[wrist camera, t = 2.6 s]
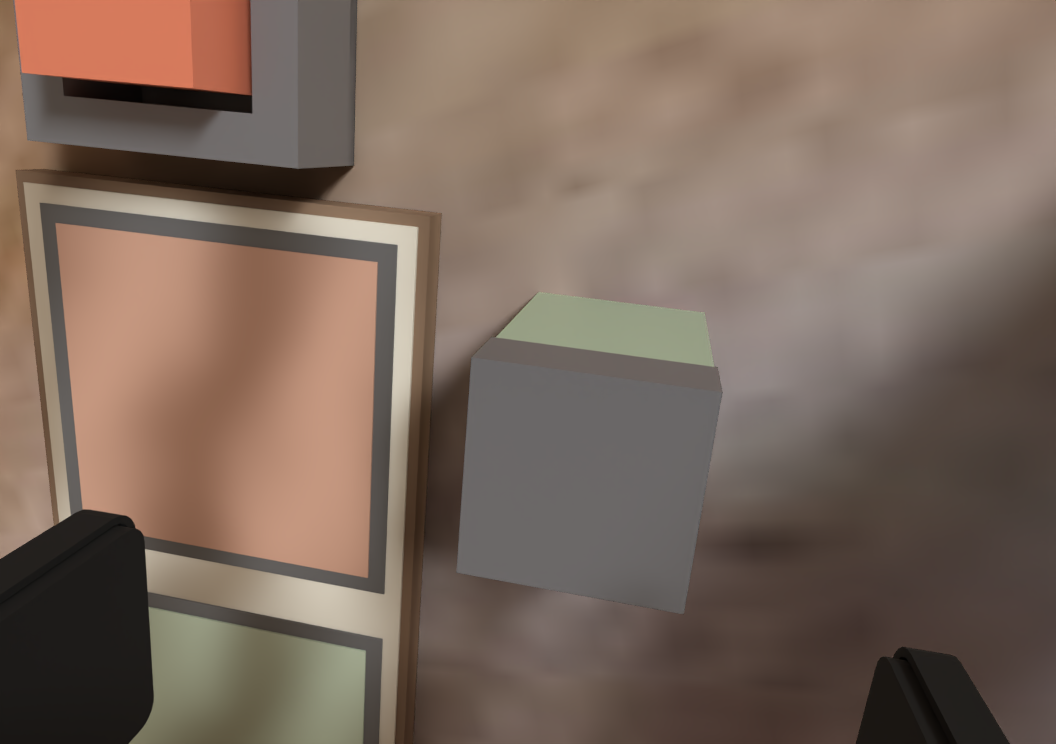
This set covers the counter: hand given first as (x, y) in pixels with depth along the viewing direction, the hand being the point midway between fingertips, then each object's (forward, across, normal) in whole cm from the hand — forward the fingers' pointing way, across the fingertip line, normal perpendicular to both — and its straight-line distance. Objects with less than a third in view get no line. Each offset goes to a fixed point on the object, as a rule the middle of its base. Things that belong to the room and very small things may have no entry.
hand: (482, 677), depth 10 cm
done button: (+11, +10, -9) cm, 17 cm away
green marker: (+12, -1, 0) cm, 12 cm away
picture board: (+12, +10, +8) cm, 18 cm away
